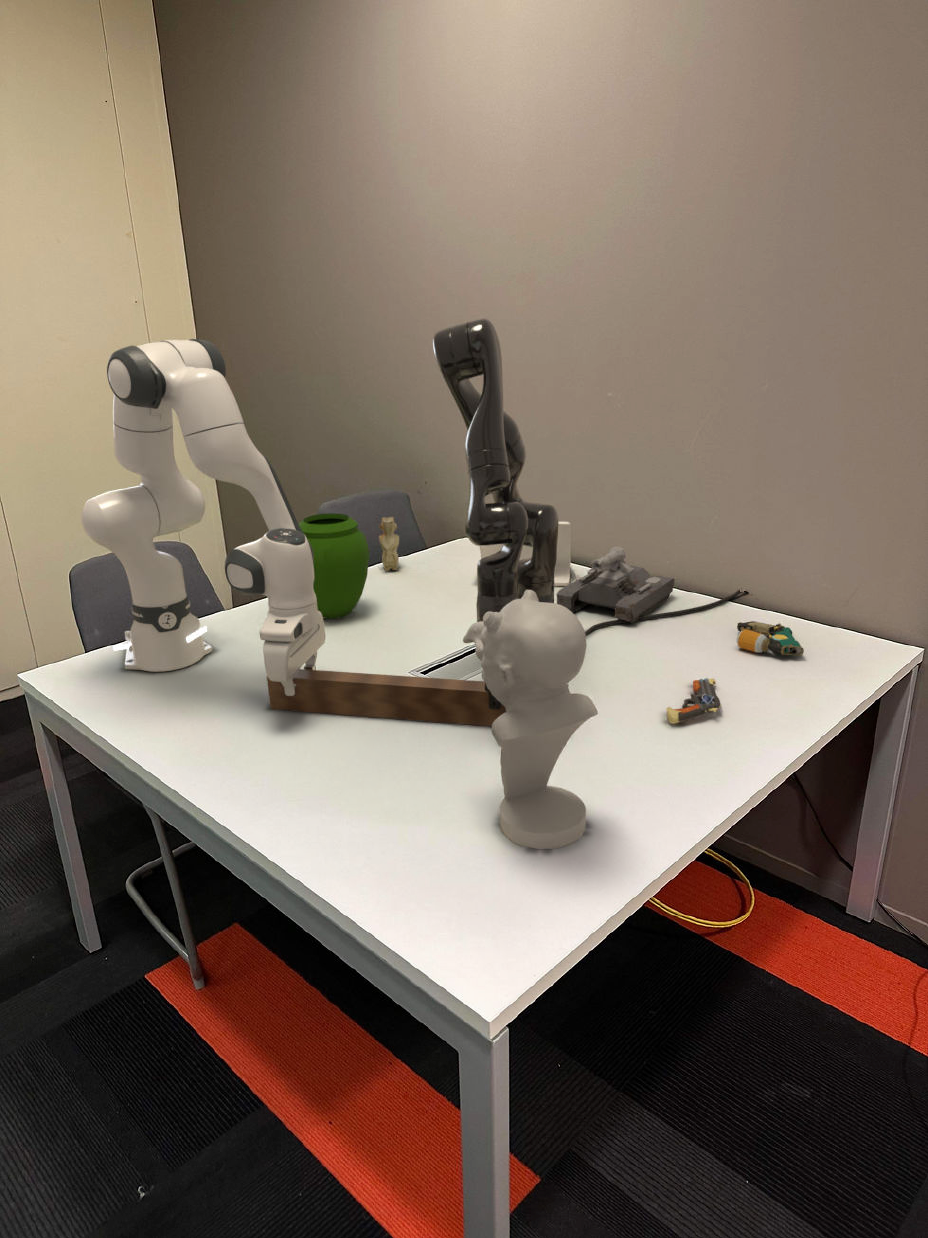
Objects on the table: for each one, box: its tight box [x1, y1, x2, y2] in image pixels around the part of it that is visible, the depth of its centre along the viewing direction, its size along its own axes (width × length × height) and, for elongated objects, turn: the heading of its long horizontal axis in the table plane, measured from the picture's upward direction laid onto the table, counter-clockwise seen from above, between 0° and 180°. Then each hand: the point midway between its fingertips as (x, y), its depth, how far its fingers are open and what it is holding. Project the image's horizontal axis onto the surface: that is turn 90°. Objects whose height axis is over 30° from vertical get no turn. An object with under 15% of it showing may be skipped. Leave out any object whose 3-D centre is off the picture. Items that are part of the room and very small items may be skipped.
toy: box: [556, 546, 676, 624], centre depth 212 cm, size 25×20×15 cm
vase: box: [298, 512, 370, 620], centre depth 209 cm, size 20×20×24 cm
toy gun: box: [666, 677, 722, 724], centre depth 161 cm, size 3×19×10 cm
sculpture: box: [378, 516, 400, 572], centre depth 246 cm, size 6×7×15 cm
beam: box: [266, 668, 506, 727], centre depth 160 cm, size 51×4×7 cm, turn 77°
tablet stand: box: [479, 521, 572, 587], centre depth 236 cm, size 18×25×17 cm
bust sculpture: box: [462, 590, 599, 850], centre depth 124 cm, size 16×24×35 cm
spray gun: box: [736, 620, 805, 657], centre depth 187 cm, size 4×17×15 cm
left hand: (301, 683), depth 164 cm, fingers open, 8 cm apart
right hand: (499, 698), depth 156 cm, fingers open, 8 cm apart
